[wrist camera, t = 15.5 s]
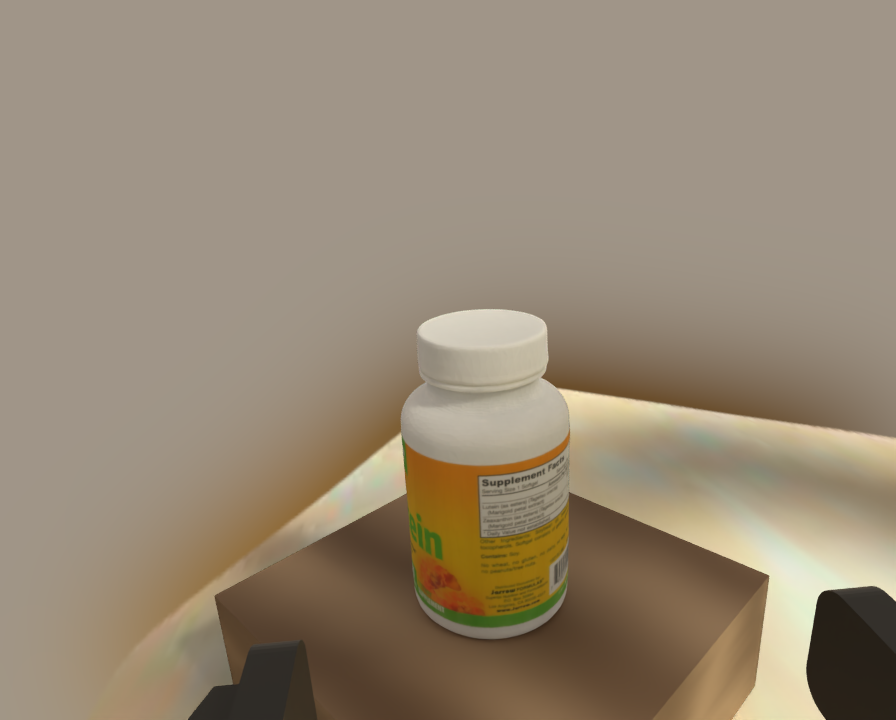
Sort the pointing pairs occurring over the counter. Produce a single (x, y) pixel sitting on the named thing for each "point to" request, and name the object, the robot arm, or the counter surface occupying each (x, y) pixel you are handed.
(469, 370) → the supplement bottle
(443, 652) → the walnut block
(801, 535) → the counter surface
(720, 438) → the counter surface
